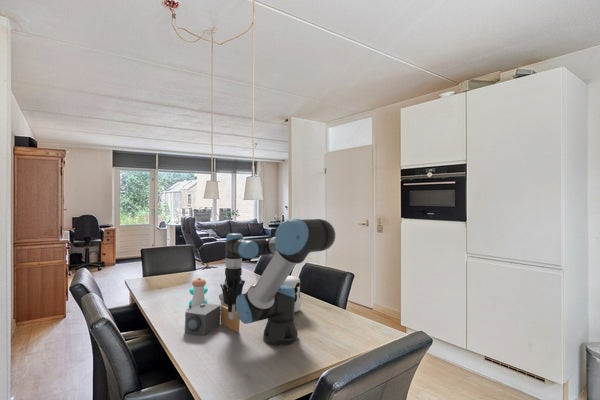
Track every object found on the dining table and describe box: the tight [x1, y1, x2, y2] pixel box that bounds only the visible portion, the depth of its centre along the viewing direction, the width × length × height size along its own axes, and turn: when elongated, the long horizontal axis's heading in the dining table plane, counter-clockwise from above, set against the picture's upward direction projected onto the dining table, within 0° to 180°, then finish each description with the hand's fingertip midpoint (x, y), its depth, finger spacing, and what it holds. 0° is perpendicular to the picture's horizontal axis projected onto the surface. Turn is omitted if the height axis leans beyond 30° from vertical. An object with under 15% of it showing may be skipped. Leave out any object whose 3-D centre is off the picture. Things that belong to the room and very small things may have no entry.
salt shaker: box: [190, 277, 207, 310], centre depth 165 cm, size 7×7×19 cm
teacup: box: [218, 292, 228, 307], centre depth 175 cm, size 14×11×8 cm
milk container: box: [283, 275, 302, 314], centre depth 173 cm, size 17×17×18 cm
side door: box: [220, 305, 241, 333], centre depth 148 cm, size 1×15×8 cm, turn 45°
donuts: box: [188, 286, 208, 308], centre depth 179 cm, size 10×10×10 cm
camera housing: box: [184, 303, 221, 336], centre depth 146 cm, size 10×16×10 cm, turn 166°
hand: (231, 318), depth 144 cm, fingers closed
